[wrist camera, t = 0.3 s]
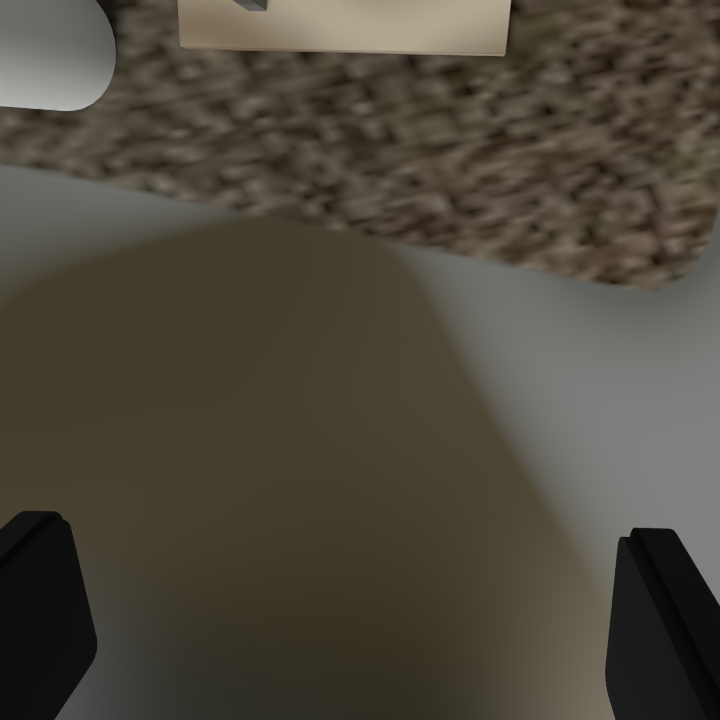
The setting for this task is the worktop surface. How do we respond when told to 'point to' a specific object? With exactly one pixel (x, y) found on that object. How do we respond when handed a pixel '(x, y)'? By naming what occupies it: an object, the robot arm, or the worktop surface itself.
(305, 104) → the worktop surface
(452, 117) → the worktop surface
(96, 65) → the cylindrical container
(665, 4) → the worktop surface
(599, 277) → the worktop surface
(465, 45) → the gear board
